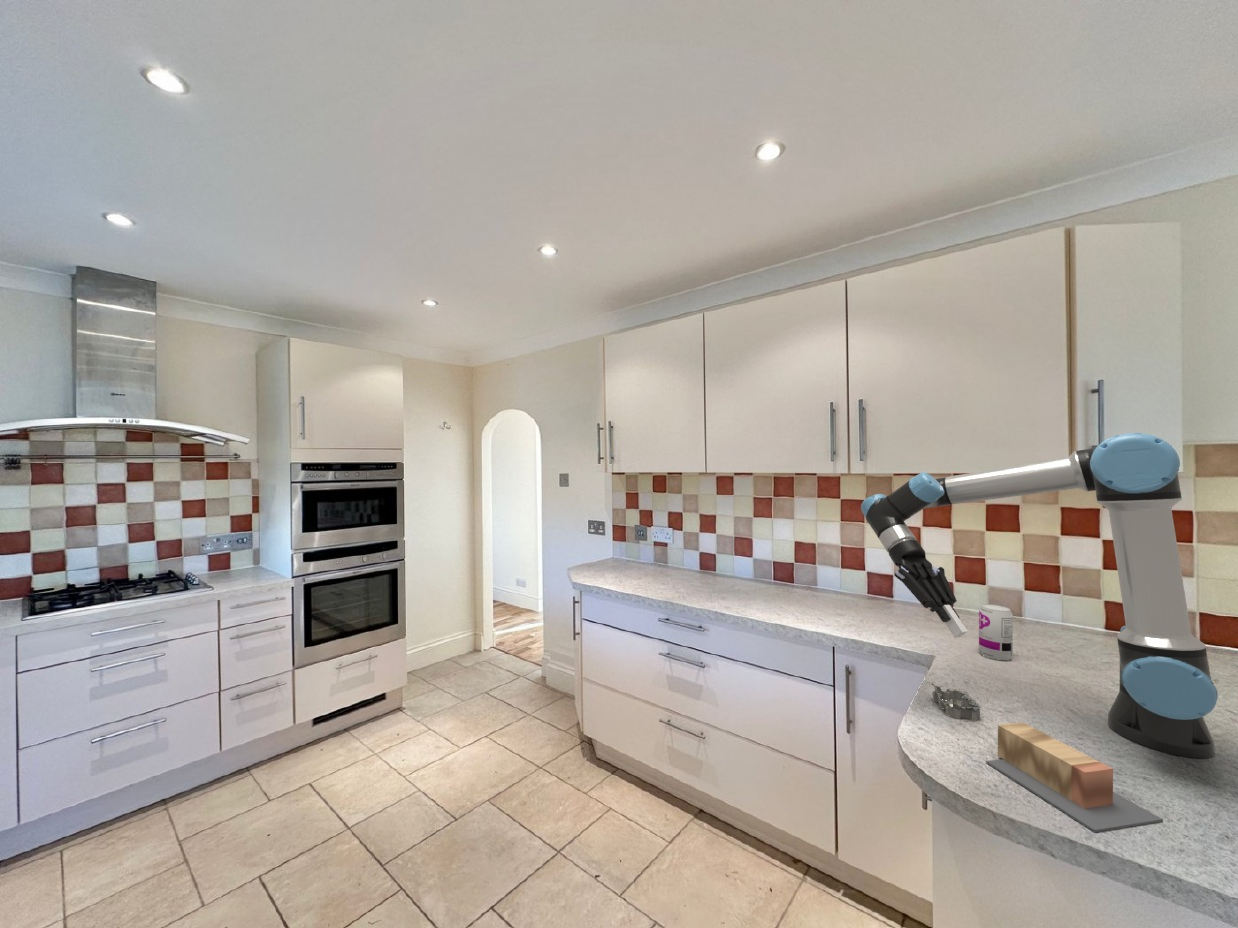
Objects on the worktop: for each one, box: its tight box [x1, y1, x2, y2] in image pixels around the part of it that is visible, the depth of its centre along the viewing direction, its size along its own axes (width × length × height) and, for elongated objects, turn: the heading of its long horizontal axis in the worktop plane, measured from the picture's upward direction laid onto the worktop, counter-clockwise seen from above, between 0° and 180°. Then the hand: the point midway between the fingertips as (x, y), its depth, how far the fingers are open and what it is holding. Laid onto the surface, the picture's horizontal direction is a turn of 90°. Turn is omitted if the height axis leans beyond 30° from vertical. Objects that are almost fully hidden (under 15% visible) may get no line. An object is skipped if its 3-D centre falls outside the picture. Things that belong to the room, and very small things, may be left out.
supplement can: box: [978, 603, 1014, 661], centre depth 148 cm, size 8×8×15 cm
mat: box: [985, 758, 1164, 834], centre depth 85 cm, size 18×14×1 cm
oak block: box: [997, 722, 1114, 809], centre depth 88 cm, size 6×6×15 cm
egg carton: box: [931, 682, 982, 722], centre depth 114 cm, size 11×8×4 cm
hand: (961, 634), depth 106 cm, fingers closed
